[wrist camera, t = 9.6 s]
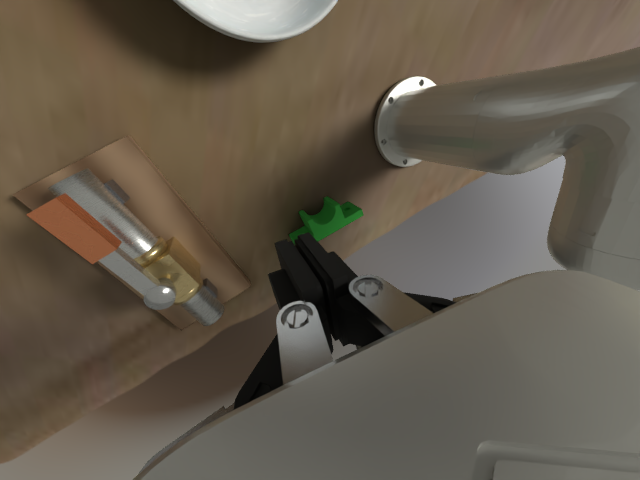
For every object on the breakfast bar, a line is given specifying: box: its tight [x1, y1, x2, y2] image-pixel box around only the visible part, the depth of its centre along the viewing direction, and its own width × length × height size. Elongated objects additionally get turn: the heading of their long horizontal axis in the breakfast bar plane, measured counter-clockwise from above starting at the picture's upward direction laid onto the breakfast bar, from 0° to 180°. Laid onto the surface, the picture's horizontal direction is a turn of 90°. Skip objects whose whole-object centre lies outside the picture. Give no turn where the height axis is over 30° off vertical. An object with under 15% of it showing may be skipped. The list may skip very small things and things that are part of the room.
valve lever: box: [26, 193, 176, 310], centre depth 24 cm, size 13×3×3 cm, turn 27°
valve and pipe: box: [47, 168, 224, 326], centre depth 30 cm, size 5×22×5 cm, turn 25°
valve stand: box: [13, 136, 251, 330], centre depth 32 cm, size 12×24×2 cm, turn 25°
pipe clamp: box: [289, 196, 363, 245], centre depth 38 cm, size 11×4×5 cm, turn 112°
